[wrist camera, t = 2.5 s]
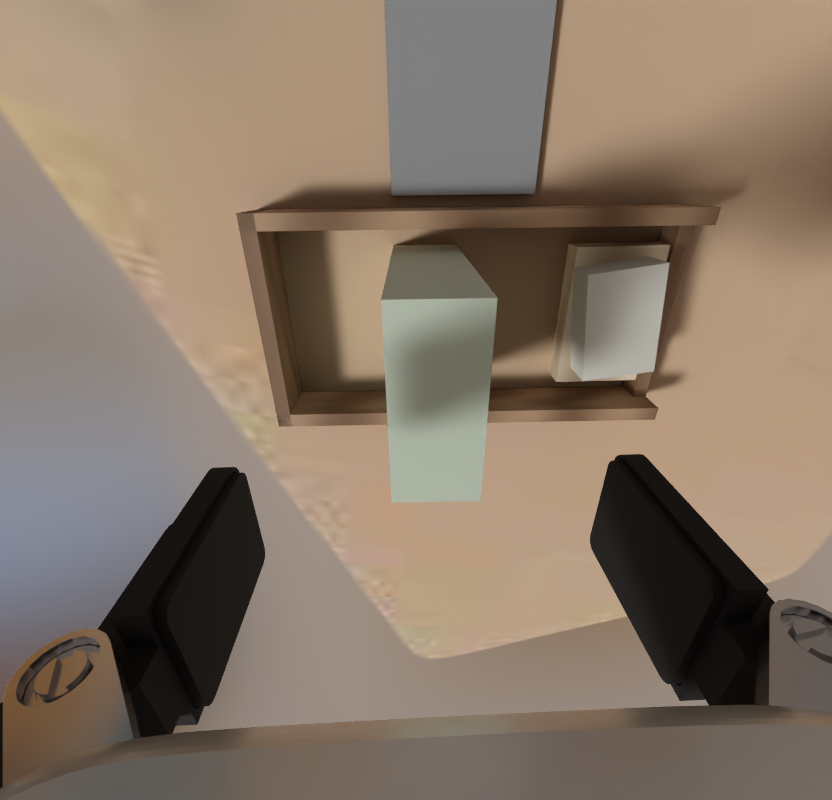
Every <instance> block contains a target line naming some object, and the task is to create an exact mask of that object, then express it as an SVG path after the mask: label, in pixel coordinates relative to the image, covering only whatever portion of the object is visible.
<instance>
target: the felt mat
mask: <svg viewBox="0 0 832 800" xmlns="http://www.w3.org/2000/svg"><path fill="white" fill-rule="evenodd" d="M556 4H557V0H385V20H386V48H387V76H388V105H389V133H390V161H391V189H392V196H399V195H475V194H535V189H536V180H537V171H538V162H539V153H540V145H541V136H542V127H543V118H544V109H545V101H546V92H547V83H548V74H549V66H550V57H551V48H552V39H553V30H554V22H555V13H556Z"/></svg>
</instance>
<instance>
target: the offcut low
mask: <svg viewBox="0 0 832 800" xmlns="http://www.w3.org/2000/svg"><path fill="white" fill-rule="evenodd" d="M670 246H671V245H669V244H665V243H661V242H618V243H578V244H569V245H568V251H567V258H566V265H565V272H564V279H563V285H562V292H561V299H560V306H559V312H558V319H557V326H556V333H555V339H554V346H553V353H552V360H551V367H550V374H551V376H552V377H553V378H554V380H555V381H556V382H575V381H582V380H581V379H580V378H579V377H578V375H577V374H576V373H575V372H574V371H573V370H572V368H571V367H570V364H571V336H572V308H573V281H574V268H575V267H582V266H588V265H595V264H601V263H608V262H614V261H620V260H627V259H633V258H640V257H646V256H650V257H653V258H656V259H659V260H663V261H667V257H668V253H669V250H670ZM636 376H637V374H632V375H625V376H617V377H610V378H603V379H596V380H589V381H612V380H636Z"/></svg>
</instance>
